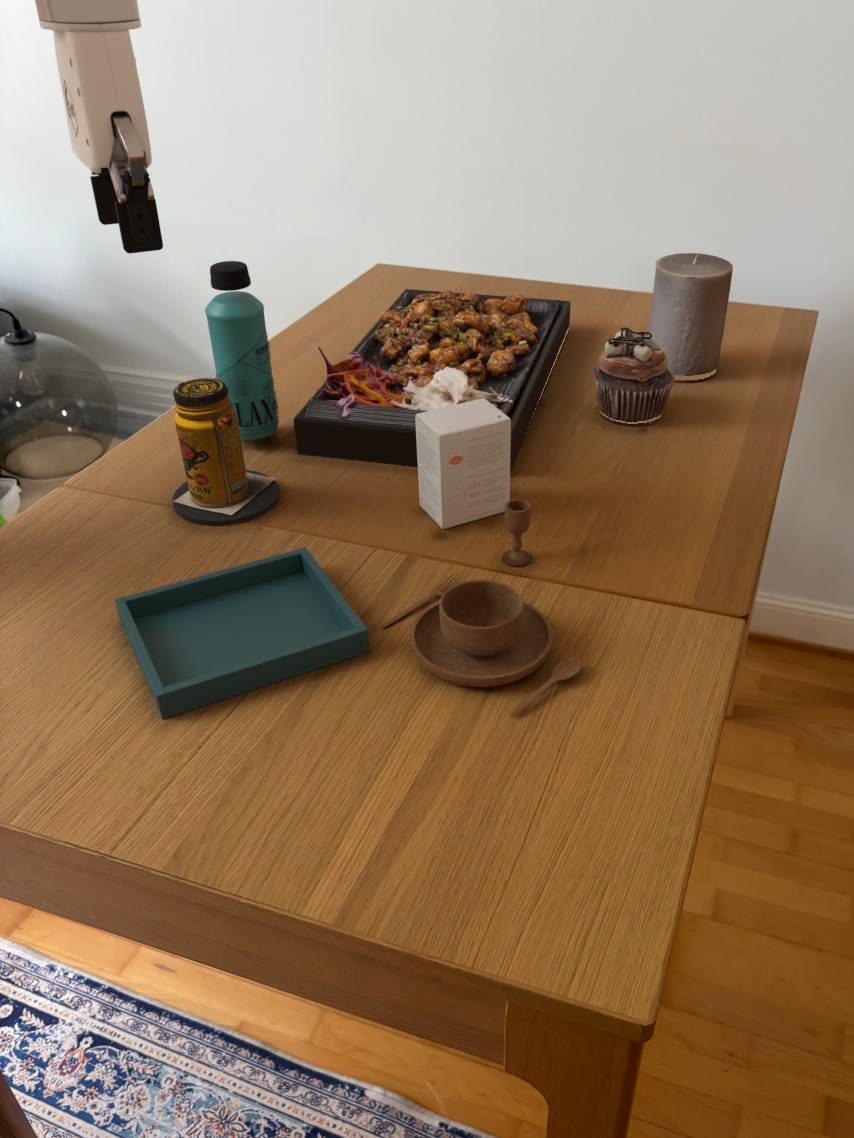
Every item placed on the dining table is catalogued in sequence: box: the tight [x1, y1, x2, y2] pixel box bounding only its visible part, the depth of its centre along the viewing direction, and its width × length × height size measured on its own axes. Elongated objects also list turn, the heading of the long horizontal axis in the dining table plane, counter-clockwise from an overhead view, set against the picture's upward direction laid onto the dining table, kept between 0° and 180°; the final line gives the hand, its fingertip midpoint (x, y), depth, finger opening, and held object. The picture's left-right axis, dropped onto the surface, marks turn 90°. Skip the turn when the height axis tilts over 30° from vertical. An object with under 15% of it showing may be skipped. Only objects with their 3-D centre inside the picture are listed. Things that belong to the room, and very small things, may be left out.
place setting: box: [380, 498, 583, 717], centre depth 84 cm, size 18×20×6 cm
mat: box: [171, 469, 280, 526], centre depth 103 cm, size 11×11×1 cm
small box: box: [415, 398, 511, 530], centre depth 98 cm, size 8×6×10 cm
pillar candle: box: [648, 252, 734, 383], centre depth 127 cm, size 10×10×15 cm
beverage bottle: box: [204, 260, 281, 441], centre depth 108 cm, size 6×7×20 cm
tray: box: [114, 547, 371, 720], centre depth 84 cm, size 18×15×2 cm
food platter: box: [292, 288, 572, 473], centre depth 124 cm, size 45×25×10 cm, turn 167°
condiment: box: [172, 377, 277, 515], centre depth 100 cm, size 7×8×12 cm
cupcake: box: [593, 326, 675, 427], centre depth 117 cm, size 10×10×10 cm
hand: (130, 236), depth 86 cm, fingers open, 9 cm apart
